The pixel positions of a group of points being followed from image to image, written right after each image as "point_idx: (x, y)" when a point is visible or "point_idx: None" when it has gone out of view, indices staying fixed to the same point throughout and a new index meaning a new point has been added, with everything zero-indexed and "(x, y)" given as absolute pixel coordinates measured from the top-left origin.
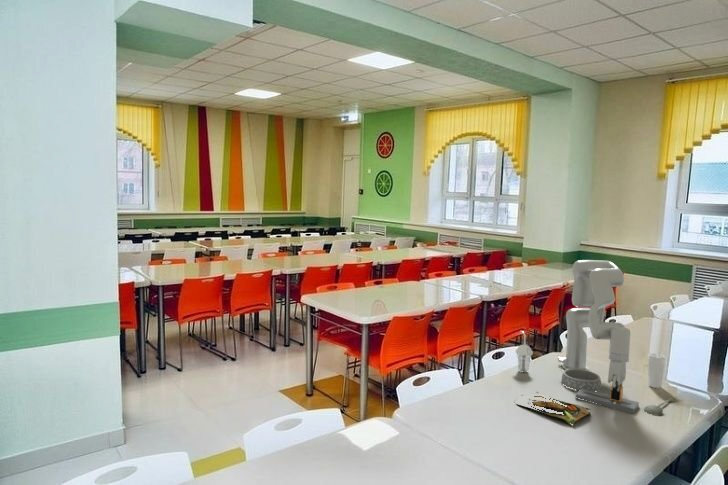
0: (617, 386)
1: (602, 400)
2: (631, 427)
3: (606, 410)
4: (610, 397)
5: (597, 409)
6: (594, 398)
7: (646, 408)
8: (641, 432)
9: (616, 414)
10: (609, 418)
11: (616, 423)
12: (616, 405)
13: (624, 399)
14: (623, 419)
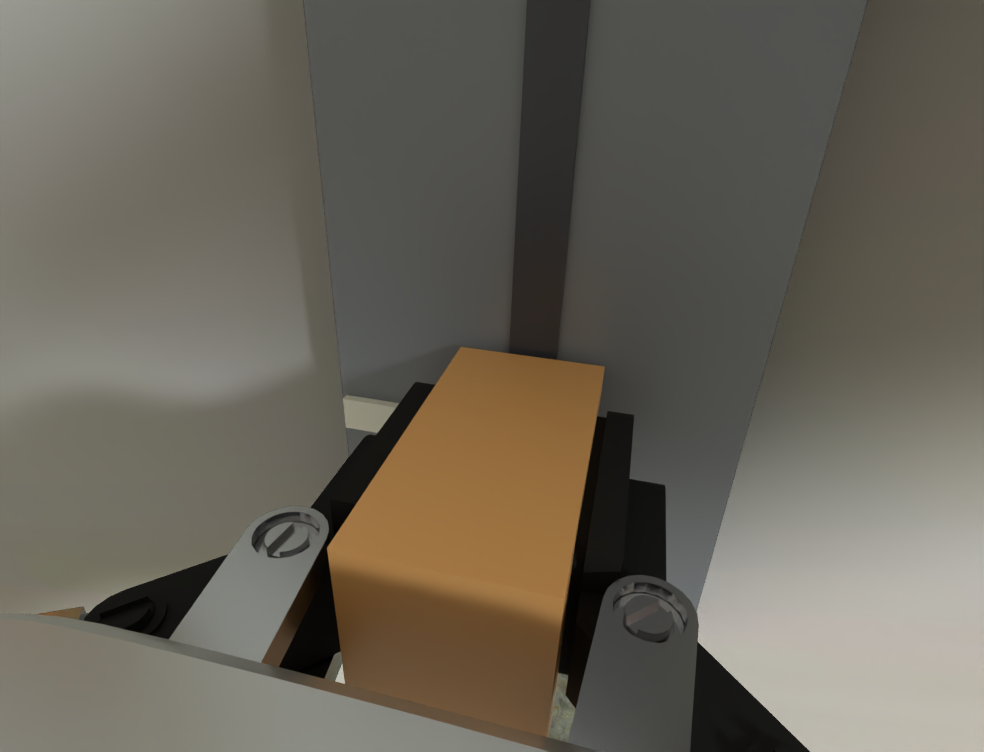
0: (428, 684)
1: (351, 216)
2: (58, 540)
3: (235, 290)
4: (447, 369)
5: (160, 165)
6: (332, 34)
7: (573, 714)
8: (47, 598)
9: (218, 413)
10: (46, 354)
11: (7, 426)
12: (352, 434)
13: (669, 540)
14: (156, 482)
